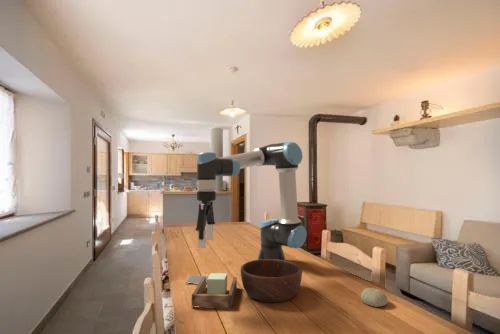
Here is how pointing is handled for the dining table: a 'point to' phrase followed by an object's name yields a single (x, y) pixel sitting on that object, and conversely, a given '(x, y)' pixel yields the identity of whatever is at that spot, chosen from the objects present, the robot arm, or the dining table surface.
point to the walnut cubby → (213, 296)
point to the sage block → (217, 283)
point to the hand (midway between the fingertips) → (205, 243)
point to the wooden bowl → (271, 279)
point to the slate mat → (196, 279)
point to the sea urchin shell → (374, 297)
